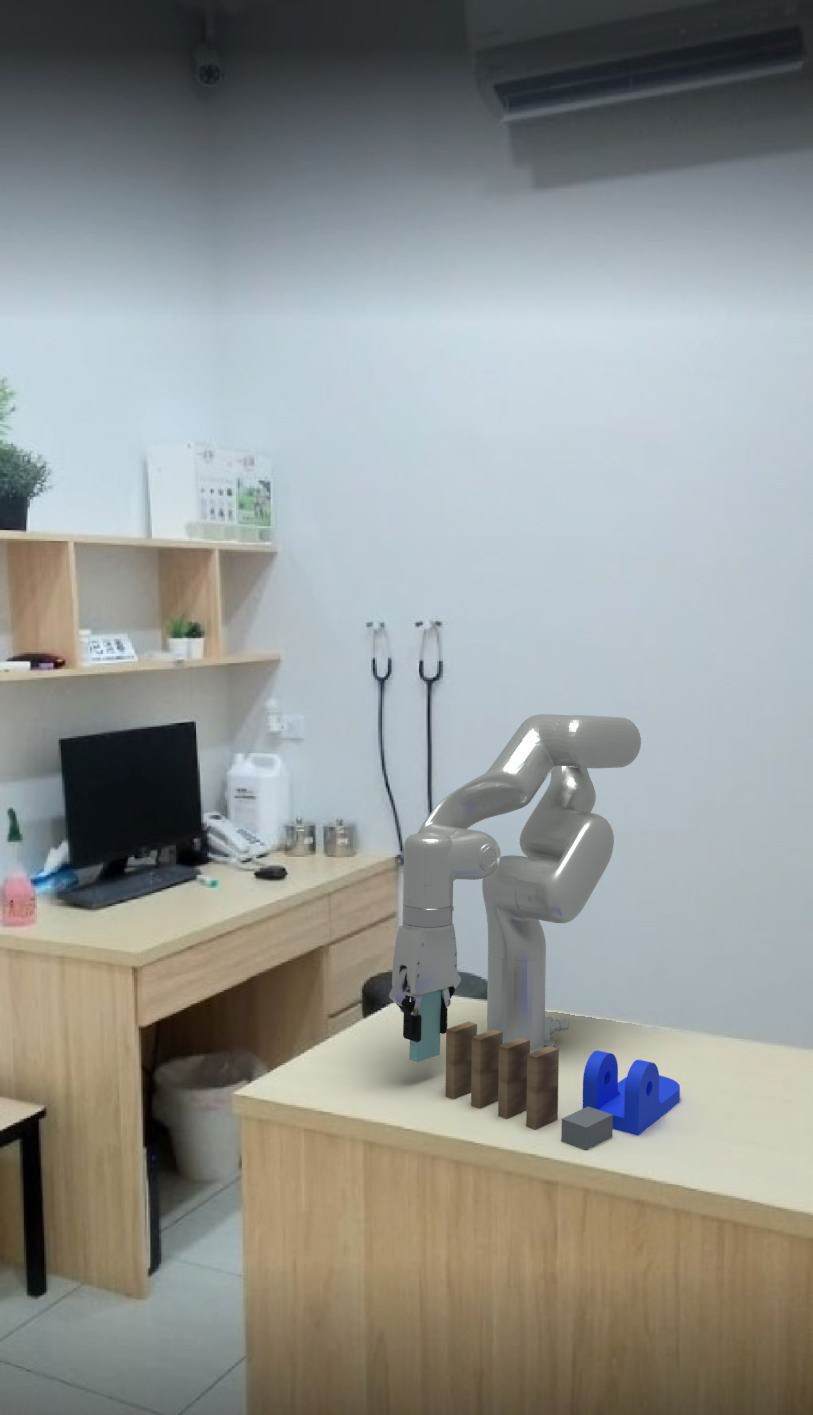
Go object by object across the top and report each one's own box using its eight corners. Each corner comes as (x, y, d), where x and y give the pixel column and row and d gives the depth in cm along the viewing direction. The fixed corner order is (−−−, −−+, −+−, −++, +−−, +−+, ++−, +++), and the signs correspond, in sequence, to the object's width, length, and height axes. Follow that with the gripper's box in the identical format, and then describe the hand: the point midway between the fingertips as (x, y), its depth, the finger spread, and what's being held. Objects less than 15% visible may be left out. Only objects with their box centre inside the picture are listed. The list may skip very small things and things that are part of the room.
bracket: (638, 1136, 154) (639, 1070, 153) (582, 1122, 159) (583, 1058, 158) (688, 1095, 168) (689, 1035, 168) (635, 1083, 173) (636, 1024, 173)
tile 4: (520, 1106, 164) (521, 1037, 163) (529, 1109, 162) (530, 1039, 162) (498, 1115, 160) (498, 1045, 160) (506, 1119, 159) (507, 1048, 158)
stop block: (587, 1127, 156) (588, 1106, 156) (612, 1136, 153) (612, 1114, 153) (561, 1140, 152) (561, 1118, 152) (586, 1149, 149) (586, 1127, 149)
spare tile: (432, 1051, 175) (433, 987, 175) (439, 1054, 174) (441, 989, 173) (409, 1059, 171) (410, 993, 171) (417, 1062, 170) (418, 995, 170)
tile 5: (548, 1116, 160) (549, 1045, 160) (557, 1119, 159) (558, 1048, 158) (526, 1126, 156) (527, 1054, 156) (535, 1129, 155) (536, 1057, 155)
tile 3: (493, 1096, 167) (494, 1029, 167) (501, 1099, 166) (502, 1031, 165) (471, 1105, 163) (471, 1036, 163) (479, 1108, 162) (480, 1039, 162)
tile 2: (468, 1087, 170) (468, 1021, 170) (476, 1090, 169) (476, 1023, 169) (445, 1096, 167) (446, 1028, 166) (453, 1099, 166) (454, 1031, 165)
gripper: (447, 904, 181) (444, 1018, 181) (369, 919, 168) (367, 1041, 169) (483, 912, 175) (480, 1029, 176) (405, 928, 163) (403, 1054, 164)
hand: (425, 1034), depth 172 cm, fingers closed on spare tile, 5 cm apart
